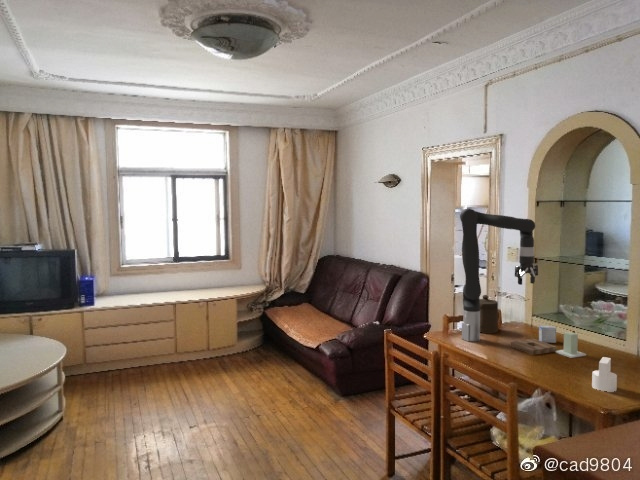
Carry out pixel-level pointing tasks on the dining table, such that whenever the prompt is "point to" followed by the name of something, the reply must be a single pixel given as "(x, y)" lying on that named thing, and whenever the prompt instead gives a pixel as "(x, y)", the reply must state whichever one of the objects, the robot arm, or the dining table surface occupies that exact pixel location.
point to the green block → (570, 342)
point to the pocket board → (533, 346)
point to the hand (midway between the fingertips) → (526, 283)
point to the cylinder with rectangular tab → (604, 377)
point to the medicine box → (547, 334)
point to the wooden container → (488, 315)
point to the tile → (570, 354)
